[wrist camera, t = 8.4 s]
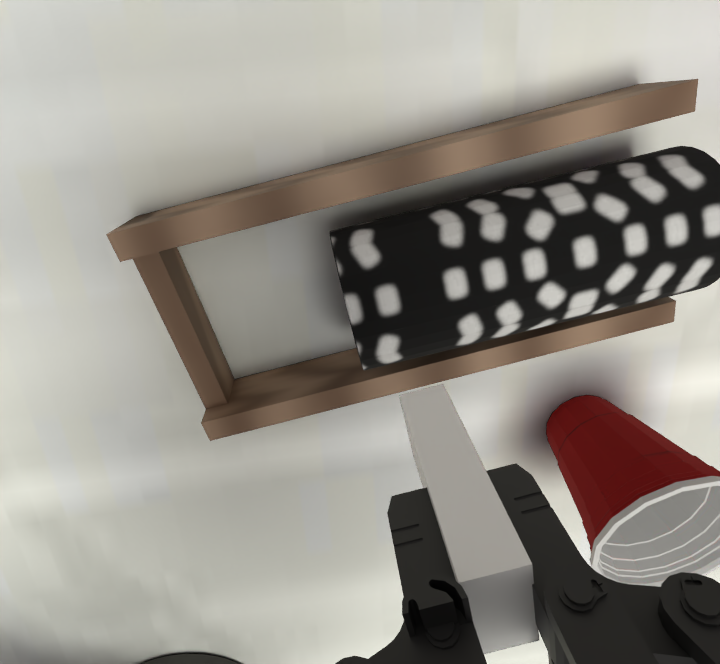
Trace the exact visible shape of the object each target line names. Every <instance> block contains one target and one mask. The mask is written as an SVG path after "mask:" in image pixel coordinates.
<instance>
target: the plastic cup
mask: <svg viewBox="0 0 720 664" xmlns="http://www.w3.org/2000/svg"><path fill="white" fill-rule="evenodd" d="M546 435H547V437H548V442H549V444H550V446H551V448H552V450H553V452H554V455H555V457H556V459H557V461H558V466H559V468H560V471H561V473H562V475H563V477H564V480H565V482H566V484H567V486H568V489H569V491H570V493H571V495H572V498H573V500H574V502H575V504H576V507H577V509H578V511H579V513H580V516H581V518H582V520H583V522H582V523H583V526H584V528H585V530H586V533H587V539H588V541H589V544H590V549H591V557H590V562H591V566H592V568H593V569H594V570H595V571H596V572H598V573H599V574H601V575H603V576H604V577H606V578H608V579H611V580H614V581H616V582H620V583H626V584H633V585H646V586H658V587H661V584H662V583H663V582H664V581H665V580H666V579H667V578H668V577H669V576H670V575H674V574H677V573H680V572H686V573H697V574H700V575H703V576H704V575H707V574H708V573H710V572H712V571H714V570H715V569H717V568H719V567H720V471H718V470H717V469H715V468H714V467H713V466H709V465H707V464H706V463H705V462H703V461H702V460H700V459H699V458H698V457H696V456H692V455H691V454H689V453H688V452H686V451H685V450H683V449H682V448H680V447H679V446H677V445H676V444H674V443H673V442H671V441H670V440H668V439H667V438H665V437H664V436H662V435H661V434H659V433H658V432H656V431H655V430H653V429H652V428H650V427H649V426H647V425H646V424H644V423H643V422H641V421H640V420H638V419H637V418H635V417H634V416H632V415H630V414H627V413H625V412H624V411H622V410H621V409H619V408H618V407H616V406H615V405H613V404H612V403H610V402H609V401H607V400H605V399H602V398H600V397H597V396H591V395H584V396H579V397H574V398H572V399H570V400H568V401H566V402H564V403H562V404H561V405H560V406H559V407H558V408H557V409H556V410H555V411H554V412H553V413H552V415H551V417H550V418H549V420H548V422H547V428H546Z"/></svg>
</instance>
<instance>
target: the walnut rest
mask: <svg viewBox="0 0 720 664" xmlns="http://www.w3.org/2000/svg"><path fill="white" fill-rule="evenodd" d="M697 86H698V79H692V80H681V81H669V82H658V83H646V84H638V85H634V86H630V87H626V88H622V89H619V90H615V91H611V92H607V93H603V94H600V95H596V96H592V97H588V98H584V99H581V100H577V101H573V102H569V103H565V104H562V105H558V106H554V107H550V108H546V109H543V110H539V111H535V112H531V113H527V114H523V115H520V116H516V117H512V118H508V119H504V120H501V121H497V122H493V123H489V124H485V125H482V126H478V127H474V128H470V129H466V130H463V131H459V132H455V133H451V134H447V135H444V136H440V137H436V138H432V139H428V140H425V141H421V142H417V143H413V144H409V145H406V146H402V147H398V148H394V149H390V150H387V151H383V152H379V153H375V154H371V155H368V156H364V157H360V158H356V159H352V160H349V161H345V162H341V163H337V164H333V165H330V166H326V167H322V168H318V169H314V170H310V171H307V172H303V173H299V174H295V175H291V176H288V177H284V178H280V179H276V180H272V181H269V182H265V183H261V184H257V185H253V186H250V187H246V188H242V189H238V190H234V191H231V192H227V193H223V194H219V195H215V196H212V197H208V198H204V199H200V200H196V201H193V202H189V203H185V204H181V205H177V206H174V207H170V208H166V209H162V210H158V211H155V212H151V213H147V214H143V215H139V216H136V217H134V218H133V219H131V220H129V221H128V222H126V223H125V224H123V225H121V226H120V227H118V228H116V229H115V230H113V231H111V232H110V233H108V234H106V235H107V237H108V239H109V241H110V243H111V245H112V247H113V249H114V251H115V253H116V255H117V257H118V259H119V261H120V262H121V261H125V260H129V259H133V260H134V262H135V264H136V267H137V269H138V271H139V273H140V275H141V277H142V279H143V281H144V283H145V285H146V287H147V289H148V291H149V293H150V295H151V297H152V299H153V301H154V303H155V306H156V308H157V310H158V312H159V314H160V316H161V318H162V320H163V322H164V324H165V326H166V328H167V330H168V332H169V334H170V336H171V338H172V340H173V342H174V344H175V347H176V349H177V351H178V353H179V355H180V357H181V359H182V361H183V363H184V365H185V367H186V369H187V371H188V373H189V375H190V377H191V379H192V381H193V383H194V385H195V388H196V390H197V392H198V394H199V396H200V398H201V400H202V402H203V404H204V406H205V408H206V411H205V414H204V417H203V419H202V422H201V424H202V426H203V428H204V430H205V432H206V434H207V436H208V438H209V440H210V441H211V440H215V439H219V438H223V437H227V436H231V435H235V434H239V433H243V432H247V431H250V430H254V429H258V428H262V427H266V426H270V425H274V424H278V423H282V422H285V421H289V420H293V419H297V418H301V417H305V416H309V415H313V414H317V413H320V412H324V411H328V410H332V409H336V408H340V407H344V406H348V405H352V404H355V403H359V402H363V401H367V400H371V399H375V398H379V397H383V396H387V395H391V394H394V393H398V392H402V391H406V390H410V389H414V388H418V387H422V386H426V385H429V384H433V383H437V382H441V381H445V380H449V379H453V378H457V377H461V376H464V375H468V374H472V373H476V372H480V371H484V370H488V369H492V368H496V367H499V366H503V365H507V364H511V363H515V362H519V361H523V360H527V359H531V358H535V357H538V356H542V355H546V354H550V353H554V352H558V351H562V350H566V349H570V348H573V347H577V346H581V345H585V344H589V343H593V342H597V341H601V340H605V339H608V338H612V337H616V336H620V335H624V334H628V333H632V332H636V331H640V330H644V329H647V328H651V327H655V326H659V325H663V324H667V323H671V322H674V315H675V305H676V301H675V300H673V299H671V298H669V297H665V298H661V299H657V300H652V301H648V302H644V303H640V304H636V305H632V306H628V307H624V308H620V309H615V310H611V311H607V312H603V313H599V314H595V315H591V316H587V317H583V318H578V319H574V320H570V321H566V322H562V323H558V324H554V325H550V326H546V327H542V328H537V329H533V330H529V331H525V332H521V333H517V334H513V335H509V336H505V337H500V338H496V339H492V340H488V341H484V342H480V343H476V344H472V345H468V346H463V347H459V348H455V349H451V350H447V351H443V352H439V353H435V354H431V355H426V356H422V357H418V358H414V359H410V360H406V361H402V362H398V363H394V364H389V365H385V366H381V367H377V368H373V369H369V370H365V371H364V370H363V369H362V365H361V362H360V358H359V355H358V351H357V348H355V349H351V350H347V351H343V352H339V353H335V354H331V355H328V356H324V357H320V358H316V359H312V360H308V361H304V362H300V363H297V364H293V365H289V366H285V367H281V368H277V369H273V370H269V371H266V372H262V373H258V374H254V375H250V376H246V377H242V378H239V379H235V380H234V378H233V375H232V373H231V371H230V368H229V366H228V364H227V361H226V359H225V357H224V355H223V352H222V350H221V348H220V345H219V343H218V341H217V338H216V336H215V334H214V332H213V329H212V327H211V325H210V322H209V320H208V318H207V315H206V313H205V311H204V309H203V306H202V304H201V302H200V299H199V297H198V295H197V292H196V290H195V288H194V286H193V283H192V281H191V279H190V276H189V274H188V272H187V270H186V267H185V265H184V263H183V260H182V258H181V256H180V253H179V251H178V249H177V247H179V246H183V245H186V244H190V243H194V242H198V241H202V240H205V239H209V238H213V237H217V236H221V235H225V234H228V233H232V232H236V231H240V230H244V229H247V228H251V227H255V226H259V225H263V224H267V223H270V222H274V221H278V220H282V219H286V218H289V217H293V216H297V215H301V214H305V213H309V212H312V211H316V210H320V209H324V208H328V207H331V206H335V205H339V204H343V203H347V202H351V201H354V200H358V199H362V198H366V197H370V196H373V195H377V194H381V193H385V192H389V191H393V190H396V189H400V188H404V187H408V186H412V185H415V184H419V183H423V182H427V181H431V180H435V179H438V178H442V177H446V176H450V175H454V174H457V173H461V172H465V171H469V170H473V169H477V168H480V167H484V166H488V165H492V164H496V163H499V162H503V161H507V160H511V159H515V158H519V157H522V156H526V155H530V154H534V153H538V152H541V151H545V150H549V149H553V148H557V147H561V146H564V145H568V144H572V143H576V142H580V141H583V140H587V139H591V138H595V137H599V136H603V135H606V134H610V133H614V132H618V131H622V130H625V129H629V128H633V127H637V126H641V125H645V124H648V123H652V122H656V121H660V120H664V119H667V118H671V117H675V116H679V115H683V114H687V113H690V112H694V111H695V105H696V96H697Z"/></svg>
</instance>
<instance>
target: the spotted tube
mask: <svg viewBox="0 0 720 664" xmlns="http://www.w3.org/2000/svg"><path fill="white" fill-rule="evenodd" d="M330 239H331V244H332V249H333V253H334V257H335V262H336V266H337V270H338V274H339V279H340V283H341V287H342V291H343V295H344V299H345V303H346V308H347V312H348V316H349V320H350V324H351V328H352V332H353V335H354V339H355V343H356V347H357V351H358V355H359V358H360V362H361V365H362V369H363V370H364V371H365V370H369V369H373V368H377V367H381V366H385V365H389V364H394V363H398V362H402V361H406V360H410V359H414V358H418V357H422V356H426V355H431V354H435V353H439V352H443V351H447V350H451V349H455V348H459V347H463V346H468V345H472V344H476V343H480V342H484V341H488V340H492V339H496V338H500V337H505V336H509V335H513V334H517V333H521V332H525V331H529V330H533V329H537V328H542V327H546V326H550V325H554V324H558V323H562V322H566V321H570V320H574V319H578V318H583V317H587V316H591V315H595V314H599V313H603V312H607V311H611V310H615V309H620V308H624V307H628V306H632V305H636V304H640V303H644V302H648V301H652V300H657V299H661V298H665V297H669V296H673V295H677V294H681V293H685V292H689V291H694V290H697V289H701V288H704V287H707V286H709V285H710V284H712V283H714V282H715V281H717V280H718V279H719V278H720V165H719V163H718V162H717V161H716V160H715V159H714V158H712V157H711V156H710V155H708V154H707V153H705V152H704V151H701V150H699V149H696V148H693V147H686V146H678V147H673V148H668V149H664V150H660V151H656V152H652V153H648V154H644V155H640V156H636V157H631V158H627V159H623V160H619V161H615V162H611V163H607V164H603V165H599V166H595V167H591V168H587V169H582V170H578V171H574V172H570V173H566V174H562V175H558V176H554V177H550V178H546V179H542V180H537V181H533V182H529V183H525V184H521V185H517V186H513V187H509V188H505V189H501V190H497V191H492V192H488V193H484V194H480V195H476V196H472V197H468V198H464V199H460V200H456V201H452V202H447V203H443V204H439V205H435V206H431V207H427V208H423V209H419V210H415V211H411V212H407V213H402V214H398V215H394V216H390V217H386V218H382V219H378V220H374V221H370V222H366V223H362V224H357V225H353V226H349V227H345V228H341V229H337V230H333V231H330Z"/></svg>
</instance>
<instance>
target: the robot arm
mask: <svg viewBox="0 0 720 664" xmlns="http://www.w3.org/2000/svg"><path fill="white" fill-rule="evenodd" d="M399 397H400V402H401V406H402V410H403V414H404V418H405V422H406V427H407V431H408V435H409V439H410V443H411V447H412V452H413V456H414V459H415V462H416V466H417V469H418V472H419V476H420V479H421V482H422V485H423V488H422V489H419V490H415V491H411V492H407V493H403V494H399V495H395V496H392V498H391V502H390V505H389V509H388V518H389V523H390V529H391V533H392V539H393V544H394V548H395V554H396V559H397V564H398V569H399V574H400V579H401V585H402V590H403V595H404V598H403V601H402V615H403V618H404V623H403V625H402V628H401V630H400V632H399V633H398V635H397V636H396V637H395V639H394V640H393V641H392V642H391V643H390V644H388V645H387V646H386V647H385V648H383V649H382V650H380V651H379V652H377V653H376V654H375V655H373V656H372V657H370V658H369V659H366V658H362V657H358V656H352V657H347V658H343V659H341V660H340V661H339V662H337V663H336V664H487V663H486V660H485V657H484V654H486V653H490V652H494V651H498V650H502V649H506V648H510V647H514V646H518V645H522V644H526V643H530V642H534V641H538V640H539V632H540V634H541V637H542V639H543V641H544V643H545V646H546V648H547V650H548V657H549V664H720V583H718V582H717V581H715V580H714V579H711V578H708V577H706V576H703V575H700V574H697V573H686V572H680V573H677V574H674V575H670V576H669V577H668V578H667V579H666V580H665V581H664V582H663V583H662V584H661V587H658V586H646V585H633V584H626V583H620V582H616V581H614V580H611V579H608V578H606V577H604V576H603V575H601V574H599V573H598V572H596V571H595V570H594V569H593V568H591V567H590V566H589V565H588V564H587V563H586V561H585V560H584V559H583V557H582V556H581V554H580V553H579V551H578V550H577V548H576V546H575V545H574V543H573V541H572V540H571V538H570V537H569V535H568V533H567V532H566V530H565V528H564V527H563V525H562V524H561V522H560V520H559V519H558V517H557V515H556V514H555V512H554V510H553V509H552V508H551V507H550V504H549V502H548V501H547V499H546V497H545V496H544V494H542V491H541V489H540V488H539V486H538V484H537V483H536V481H535V480H534V478H533V476H532V475H531V474H529V473H528V472H527V471H525V470H524V469H523V468H521V467H520V466H519V465H517V464H512V465H508V466H504V467H500V468H496V469H492V470H488V471H486V470H485V468H484V465H483V463H482V461H481V459H480V457H479V455H478V453H477V451H476V449H475V447H474V445H473V443H472V441H471V439H470V437H469V435H468V433H467V431H466V429H465V427H464V425H463V423H462V421H461V419H460V417H459V415H458V413H457V411H456V409H455V407H454V405H453V403H452V401H451V399H450V397H449V395H448V393H447V391H446V389H445V387H444V385H443V384H441V385H437V386H433V387H429V388H425V389H421V390H417V391H414V392H410V393H406V394H402V395H399ZM538 630H539V632H538ZM143 664H238V663H236V662H234V661H231V660H228V659H225V658H222V657H217V656H212V655H204V654H179V655H171V656H165V657H161V658H157V659H153V660H150V661H148V662H145V663H143Z"/></svg>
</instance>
